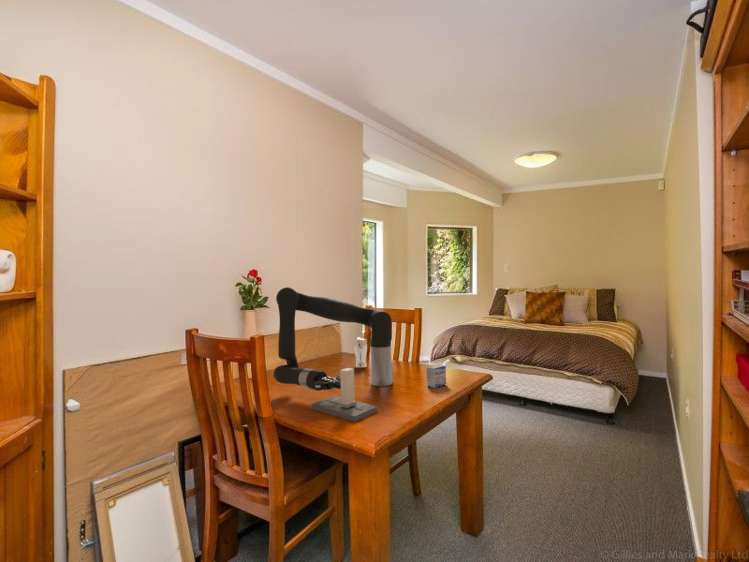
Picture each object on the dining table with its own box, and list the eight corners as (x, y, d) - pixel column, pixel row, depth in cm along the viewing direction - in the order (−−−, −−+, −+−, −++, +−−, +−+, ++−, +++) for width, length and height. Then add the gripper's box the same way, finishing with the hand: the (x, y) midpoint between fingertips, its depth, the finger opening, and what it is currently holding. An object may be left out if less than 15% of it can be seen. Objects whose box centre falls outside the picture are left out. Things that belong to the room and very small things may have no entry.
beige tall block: (348, 402, 145) (347, 367, 144) (356, 404, 142) (355, 368, 142) (339, 405, 141) (338, 370, 141) (347, 408, 138) (346, 371, 138)
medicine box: (434, 388, 167) (434, 368, 166) (426, 386, 170) (426, 367, 170) (446, 385, 172) (446, 365, 171) (438, 383, 175) (438, 364, 175)
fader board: (334, 400, 155) (334, 395, 155) (377, 411, 141) (377, 406, 141) (311, 409, 145) (311, 403, 145) (355, 422, 131) (354, 415, 131)
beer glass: (356, 368, 206) (355, 340, 206) (353, 365, 213) (352, 338, 213) (369, 367, 208) (368, 339, 208) (365, 364, 215) (365, 337, 215)
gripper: (299, 373, 148) (331, 380, 137) (324, 366, 158) (356, 372, 147) (299, 392, 148) (331, 401, 137) (325, 384, 159) (357, 392, 147)
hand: (344, 386), depth 142 cm, fingers closed
